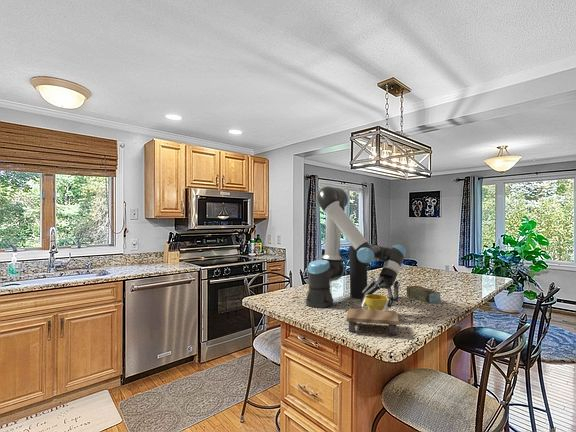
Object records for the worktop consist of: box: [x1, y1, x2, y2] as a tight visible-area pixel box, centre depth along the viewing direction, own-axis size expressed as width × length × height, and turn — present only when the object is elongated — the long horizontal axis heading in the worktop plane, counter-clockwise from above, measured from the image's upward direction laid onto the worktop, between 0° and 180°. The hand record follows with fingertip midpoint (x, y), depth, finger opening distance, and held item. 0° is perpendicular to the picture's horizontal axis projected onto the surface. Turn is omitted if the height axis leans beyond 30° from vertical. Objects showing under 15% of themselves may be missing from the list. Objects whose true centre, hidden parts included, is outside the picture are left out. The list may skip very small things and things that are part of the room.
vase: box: [348, 245, 368, 300], centre depth 186 cm, size 10×10×30 cm
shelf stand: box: [345, 307, 400, 337], centre depth 129 cm, size 20×14×6 cm
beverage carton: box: [406, 285, 442, 305], centre depth 177 cm, size 8×19×7 cm, turn 17°
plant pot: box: [365, 293, 389, 310], centre depth 144 cm, size 10×10×10 cm
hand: (373, 310), depth 142 cm, fingers closed on plant pot, 10 cm apart
